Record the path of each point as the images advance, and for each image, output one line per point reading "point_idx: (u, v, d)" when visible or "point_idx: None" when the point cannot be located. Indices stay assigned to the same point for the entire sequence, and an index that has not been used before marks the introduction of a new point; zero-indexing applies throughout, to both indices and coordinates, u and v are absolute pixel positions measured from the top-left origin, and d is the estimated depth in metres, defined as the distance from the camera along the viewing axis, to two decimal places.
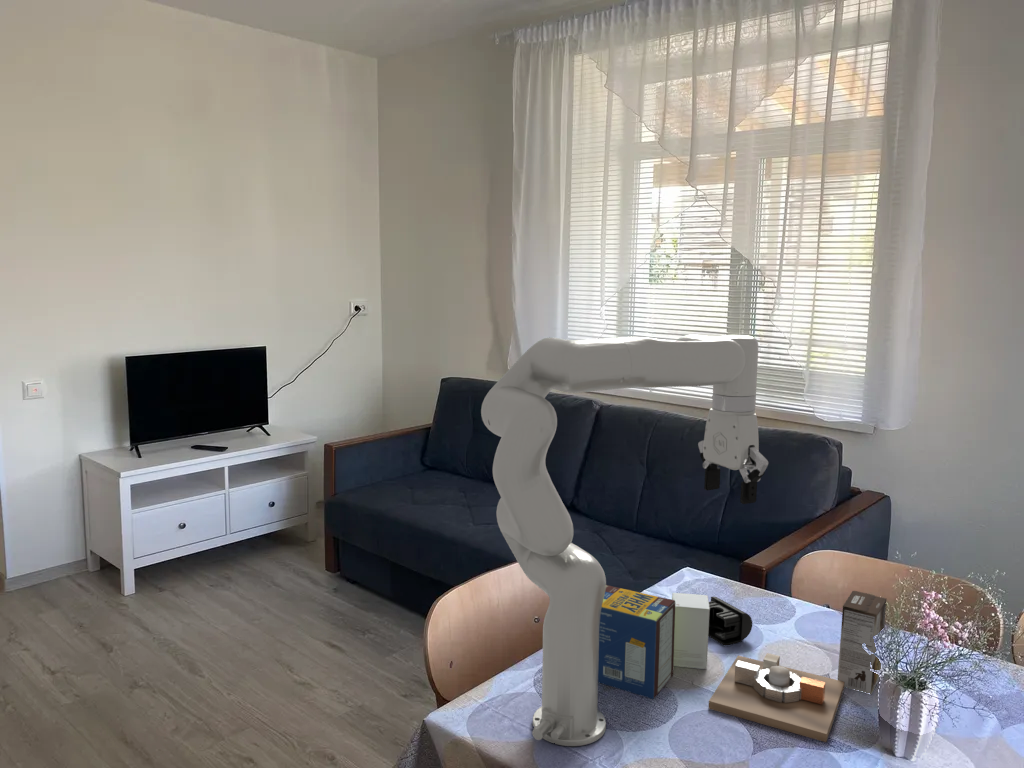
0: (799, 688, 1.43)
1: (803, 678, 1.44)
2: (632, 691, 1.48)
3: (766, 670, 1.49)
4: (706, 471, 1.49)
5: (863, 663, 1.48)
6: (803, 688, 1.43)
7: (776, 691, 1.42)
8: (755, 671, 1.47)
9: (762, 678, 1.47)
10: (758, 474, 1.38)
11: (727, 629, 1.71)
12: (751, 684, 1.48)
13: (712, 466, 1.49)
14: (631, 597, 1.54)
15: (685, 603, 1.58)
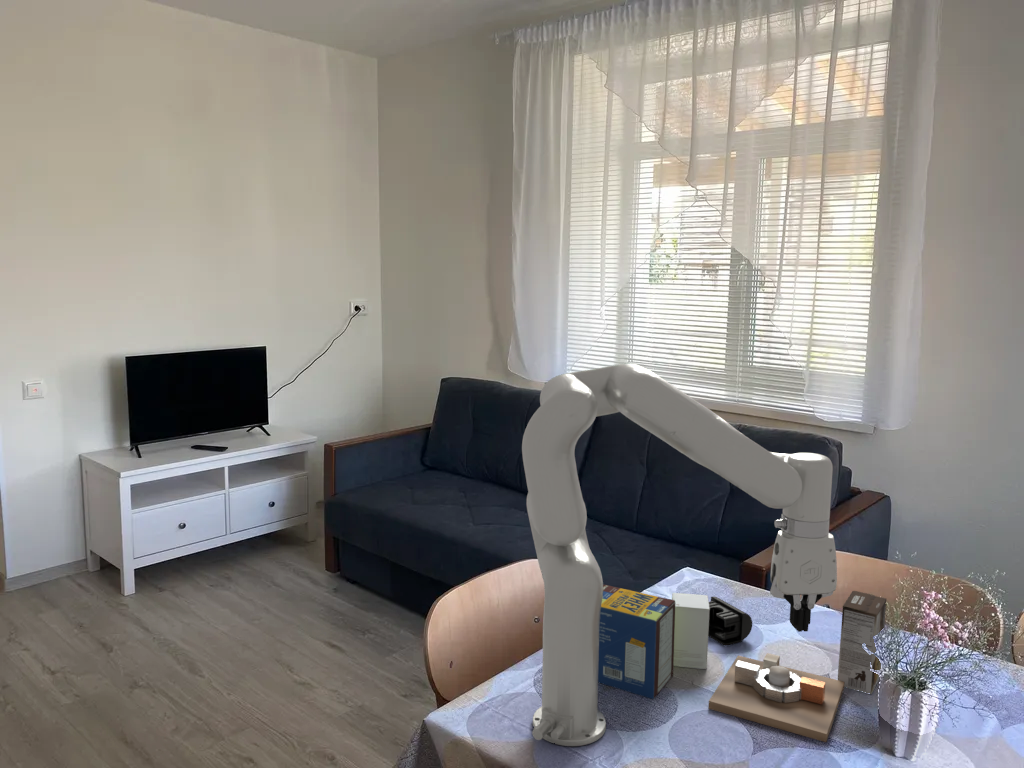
0: (799, 688, 1.43)
1: (803, 678, 1.44)
2: (632, 691, 1.48)
3: (766, 670, 1.49)
4: (802, 612, 1.36)
5: (863, 663, 1.48)
6: (803, 688, 1.43)
7: (776, 691, 1.42)
8: (755, 671, 1.47)
9: (762, 678, 1.47)
10: None
11: (727, 629, 1.71)
12: (751, 684, 1.48)
13: None
14: (631, 597, 1.54)
15: (685, 603, 1.58)
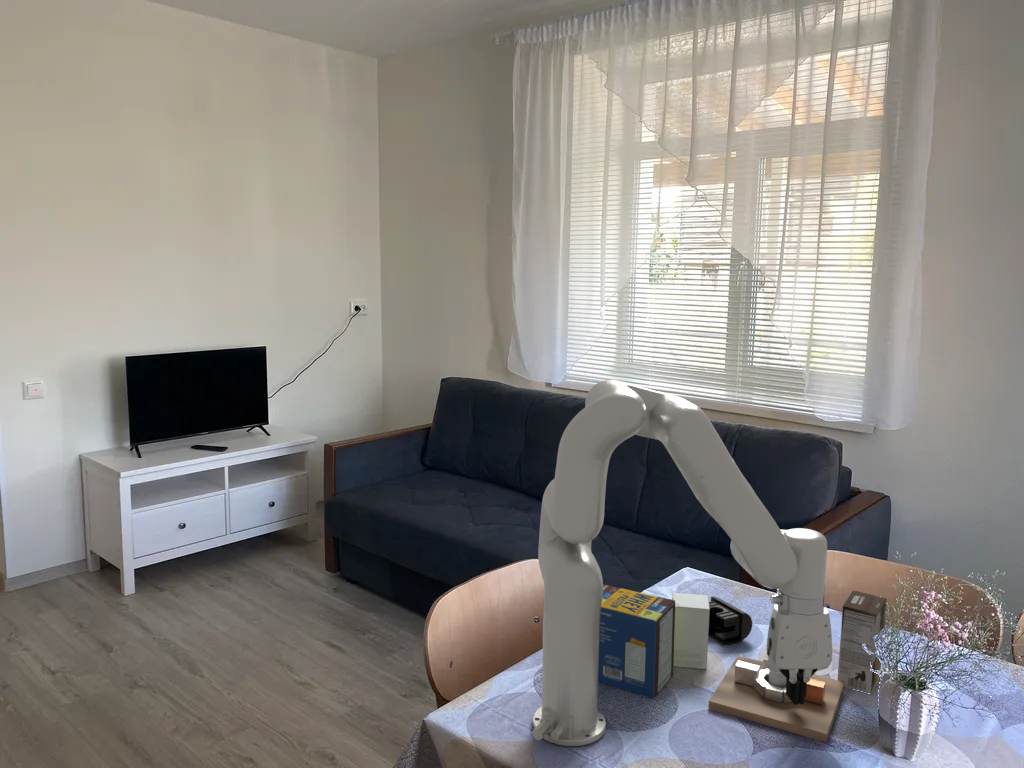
0: None
1: None
2: (632, 691, 1.48)
3: (766, 670, 1.49)
4: (798, 685, 1.38)
5: (863, 663, 1.48)
6: None
7: (776, 691, 1.42)
8: (755, 671, 1.47)
9: (762, 678, 1.47)
10: None
11: (727, 629, 1.71)
12: (751, 684, 1.48)
13: None
14: (631, 597, 1.54)
15: (685, 603, 1.58)
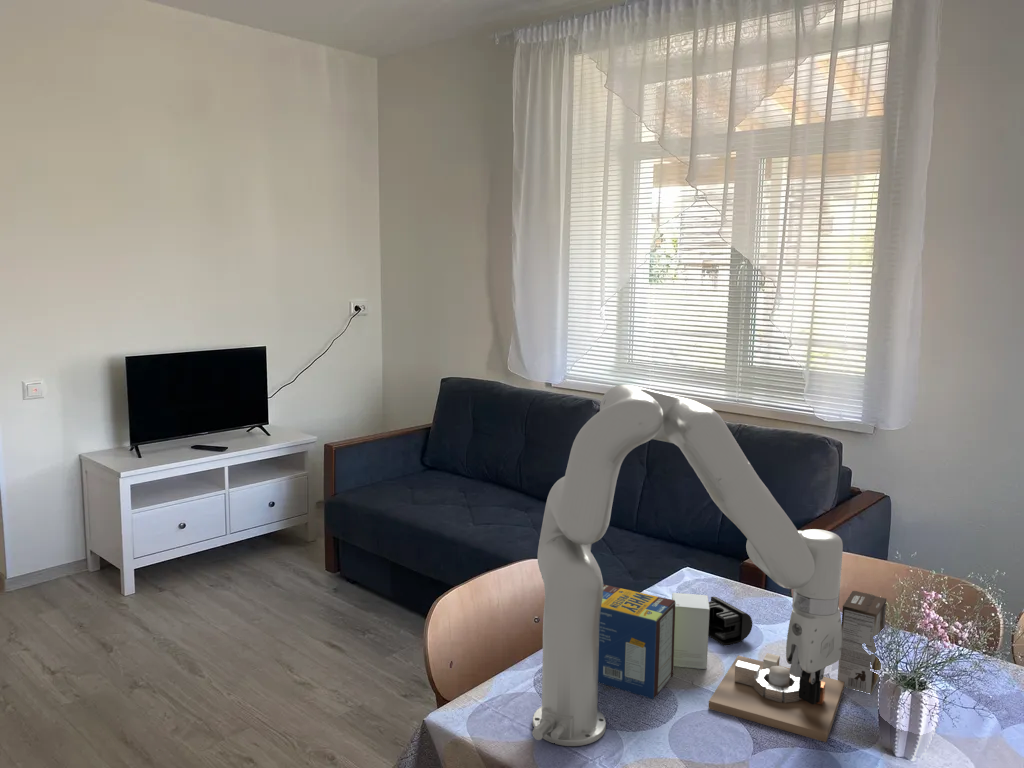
0: None
1: None
2: (632, 691, 1.48)
3: (766, 670, 1.49)
4: (816, 685, 1.39)
5: (863, 663, 1.48)
6: None
7: (776, 691, 1.42)
8: (755, 671, 1.47)
9: (762, 678, 1.47)
10: None
11: (727, 629, 1.71)
12: (751, 684, 1.48)
13: None
14: (631, 597, 1.54)
15: (685, 603, 1.58)
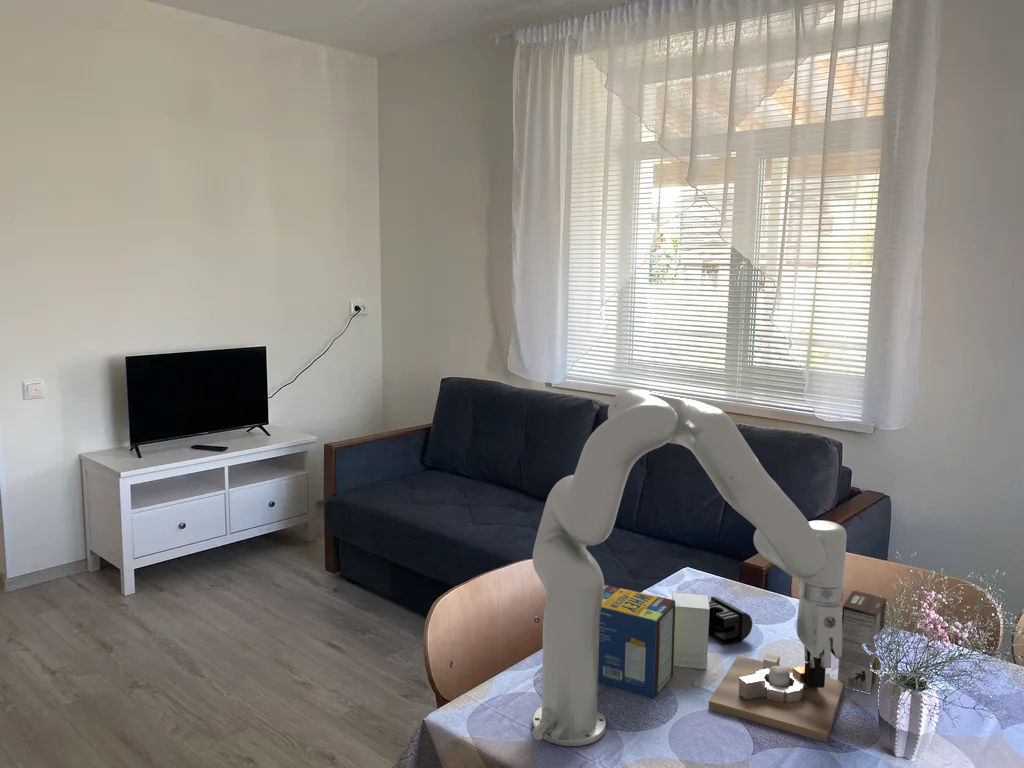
0: (800, 679, 1.46)
1: (796, 669, 1.48)
2: (632, 691, 1.48)
3: None
4: None
5: (863, 663, 1.48)
6: (803, 678, 1.46)
7: (795, 691, 1.42)
8: (764, 680, 1.44)
9: (770, 685, 1.44)
10: None
11: (727, 629, 1.71)
12: (760, 695, 1.44)
13: None
14: (631, 597, 1.54)
15: (685, 603, 1.58)
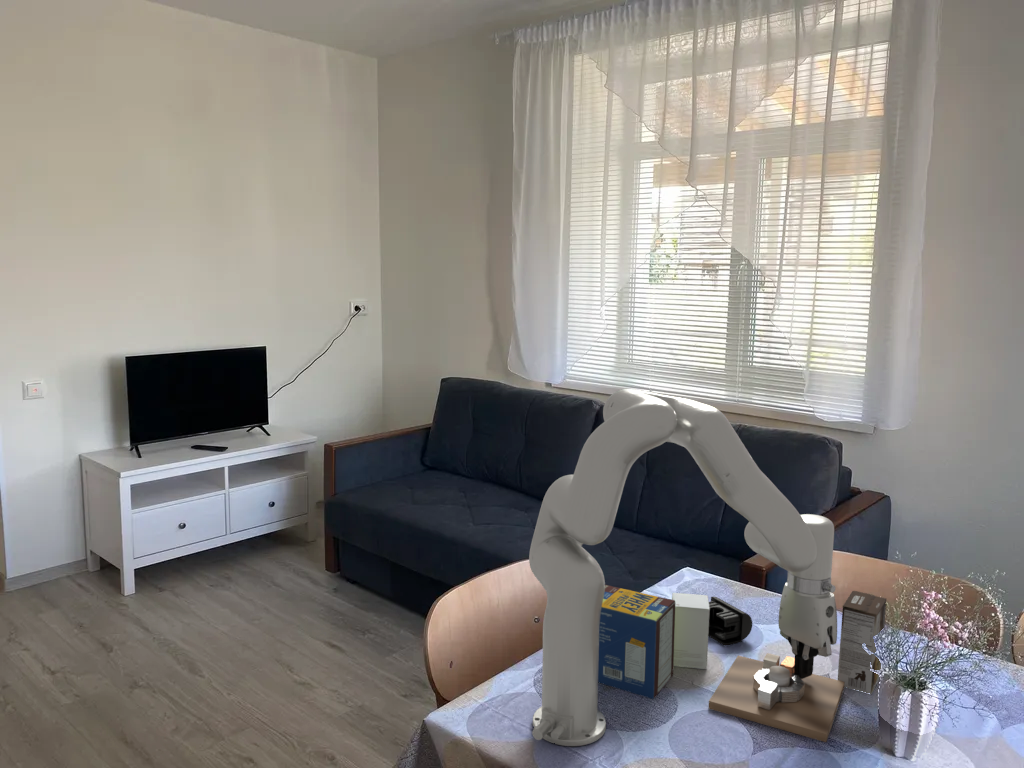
0: (792, 673, 1.48)
1: (784, 664, 1.49)
2: (632, 691, 1.48)
3: (760, 681, 1.45)
4: None
5: (863, 663, 1.48)
6: (793, 671, 1.49)
7: (802, 686, 1.44)
8: (777, 685, 1.42)
9: (779, 687, 1.43)
10: None
11: (727, 629, 1.71)
12: (775, 701, 1.42)
13: None
14: (631, 597, 1.54)
15: (685, 603, 1.58)
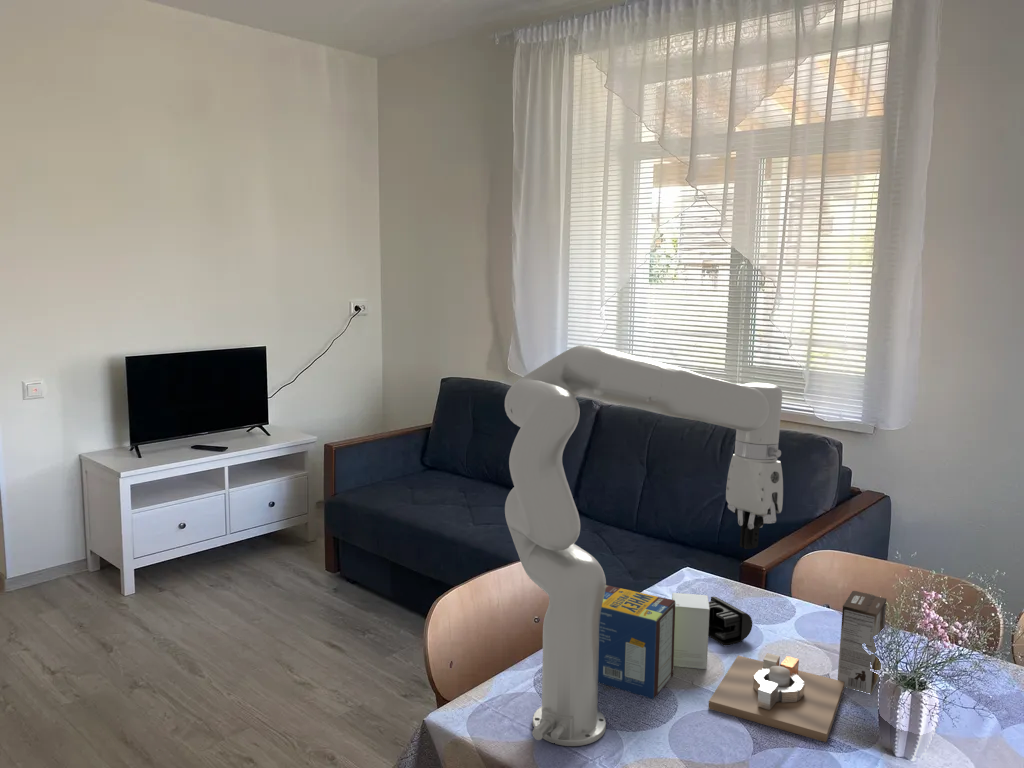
0: (792, 673, 1.48)
1: (784, 664, 1.49)
2: (632, 691, 1.48)
3: (760, 681, 1.45)
4: None
5: (863, 663, 1.48)
6: (793, 671, 1.49)
7: (802, 686, 1.44)
8: (777, 685, 1.42)
9: (779, 687, 1.43)
10: None
11: (727, 629, 1.71)
12: (775, 701, 1.42)
13: None
14: (631, 597, 1.54)
15: (685, 603, 1.58)
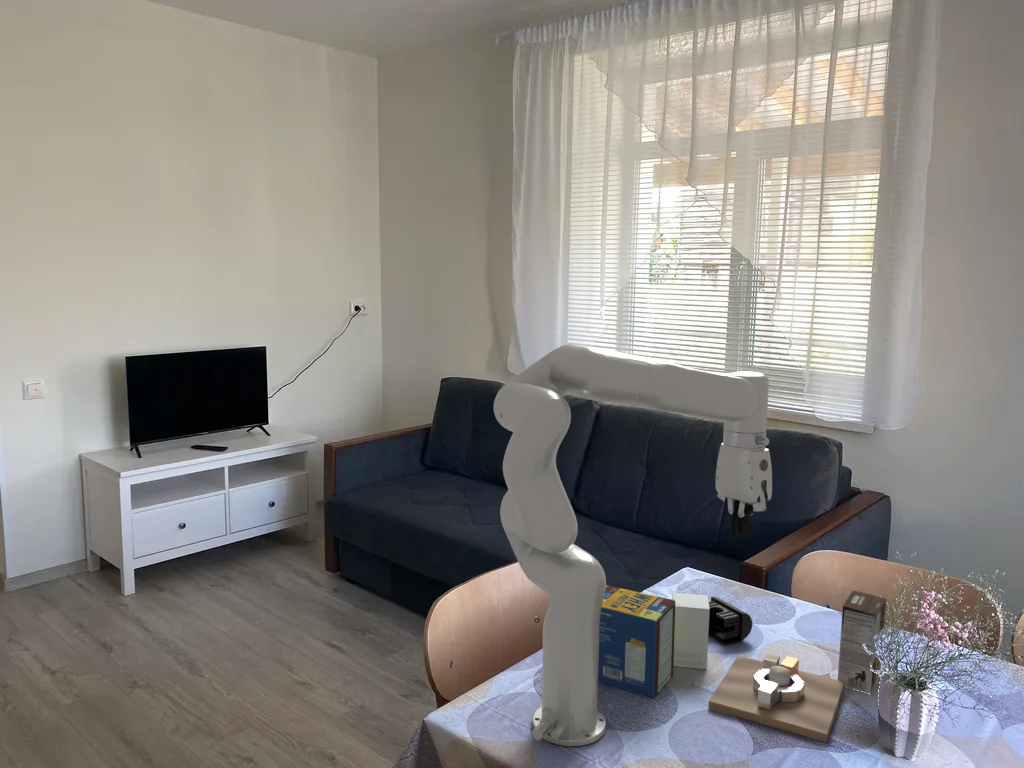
0: (792, 673, 1.48)
1: (784, 664, 1.49)
2: (632, 691, 1.48)
3: (760, 681, 1.45)
4: None
5: (863, 663, 1.48)
6: (793, 671, 1.49)
7: (802, 686, 1.44)
8: (777, 685, 1.42)
9: (779, 687, 1.43)
10: None
11: (727, 629, 1.71)
12: (775, 701, 1.42)
13: None
14: (631, 597, 1.54)
15: (685, 603, 1.58)
